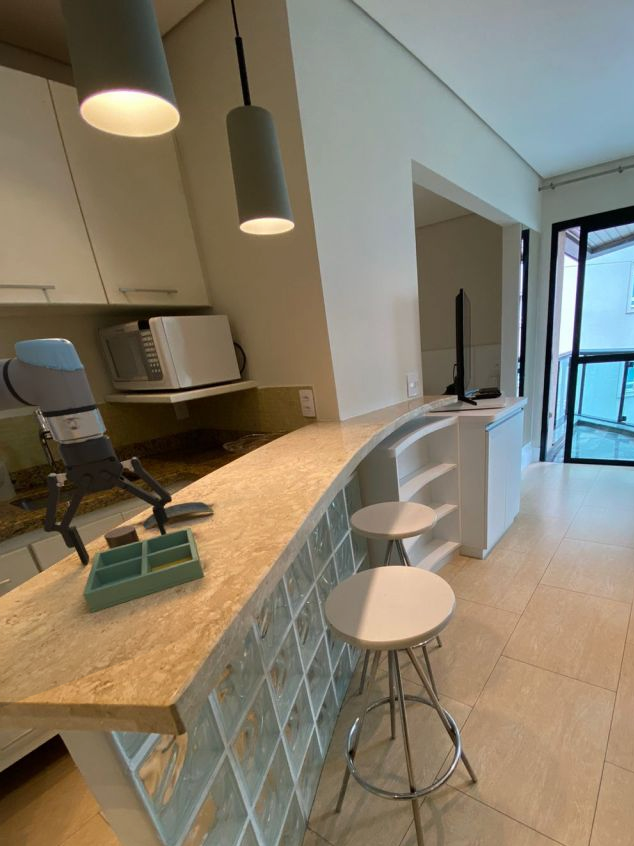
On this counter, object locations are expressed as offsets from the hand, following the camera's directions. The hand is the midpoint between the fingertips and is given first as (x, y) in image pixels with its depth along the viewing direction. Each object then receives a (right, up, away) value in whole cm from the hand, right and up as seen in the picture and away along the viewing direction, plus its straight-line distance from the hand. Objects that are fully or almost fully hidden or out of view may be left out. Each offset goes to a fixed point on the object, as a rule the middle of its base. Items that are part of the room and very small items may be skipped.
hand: (127, 549), depth 77 cm
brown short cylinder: (0, 0, 0) cm, 0 cm away
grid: (+10, -3, -9) cm, 13 cm away
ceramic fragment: (+4, +5, +12) cm, 13 cm away
